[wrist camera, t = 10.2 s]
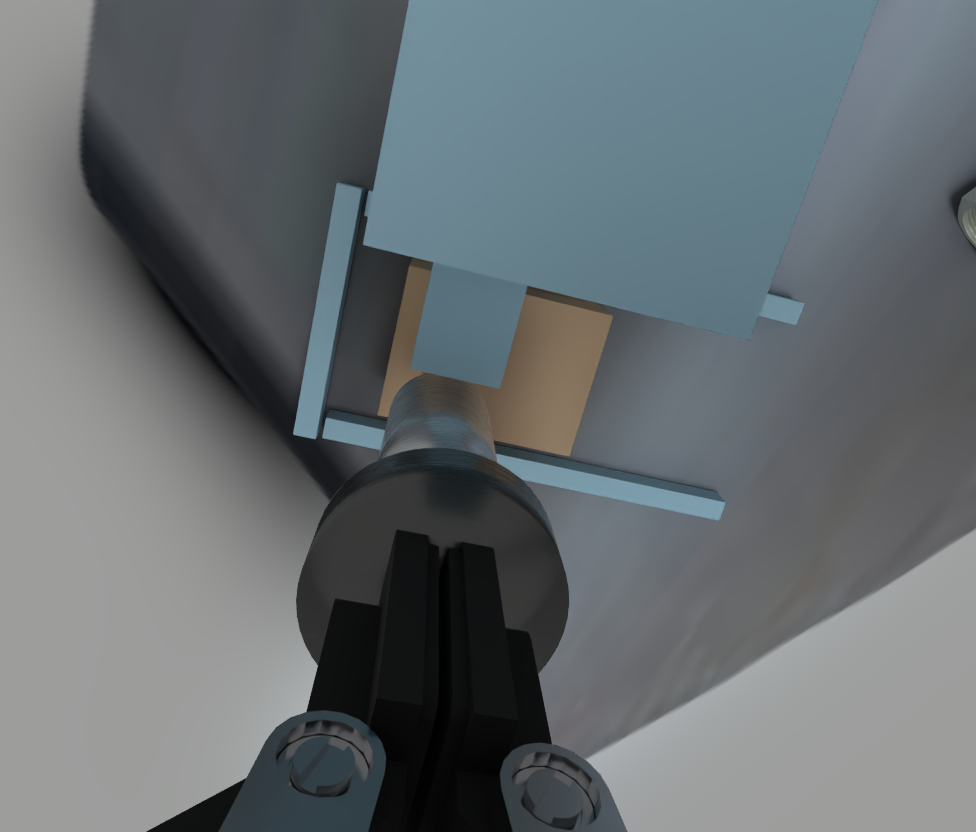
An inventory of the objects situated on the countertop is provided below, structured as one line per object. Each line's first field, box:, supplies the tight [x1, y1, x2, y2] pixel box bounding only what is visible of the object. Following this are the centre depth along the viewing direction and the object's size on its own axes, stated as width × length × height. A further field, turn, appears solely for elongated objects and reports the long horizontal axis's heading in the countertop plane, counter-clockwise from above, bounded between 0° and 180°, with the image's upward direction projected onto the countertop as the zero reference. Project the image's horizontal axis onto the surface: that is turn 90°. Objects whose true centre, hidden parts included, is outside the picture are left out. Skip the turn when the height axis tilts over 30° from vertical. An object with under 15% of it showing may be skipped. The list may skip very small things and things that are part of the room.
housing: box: [377, 257, 613, 456], centre depth 29 cm, size 8×6×6 cm
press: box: [293, 0, 878, 520], centre depth 20 cm, size 21×16×24 cm
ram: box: [296, 373, 569, 673], centre depth 16 cm, size 5×5×10 cm
